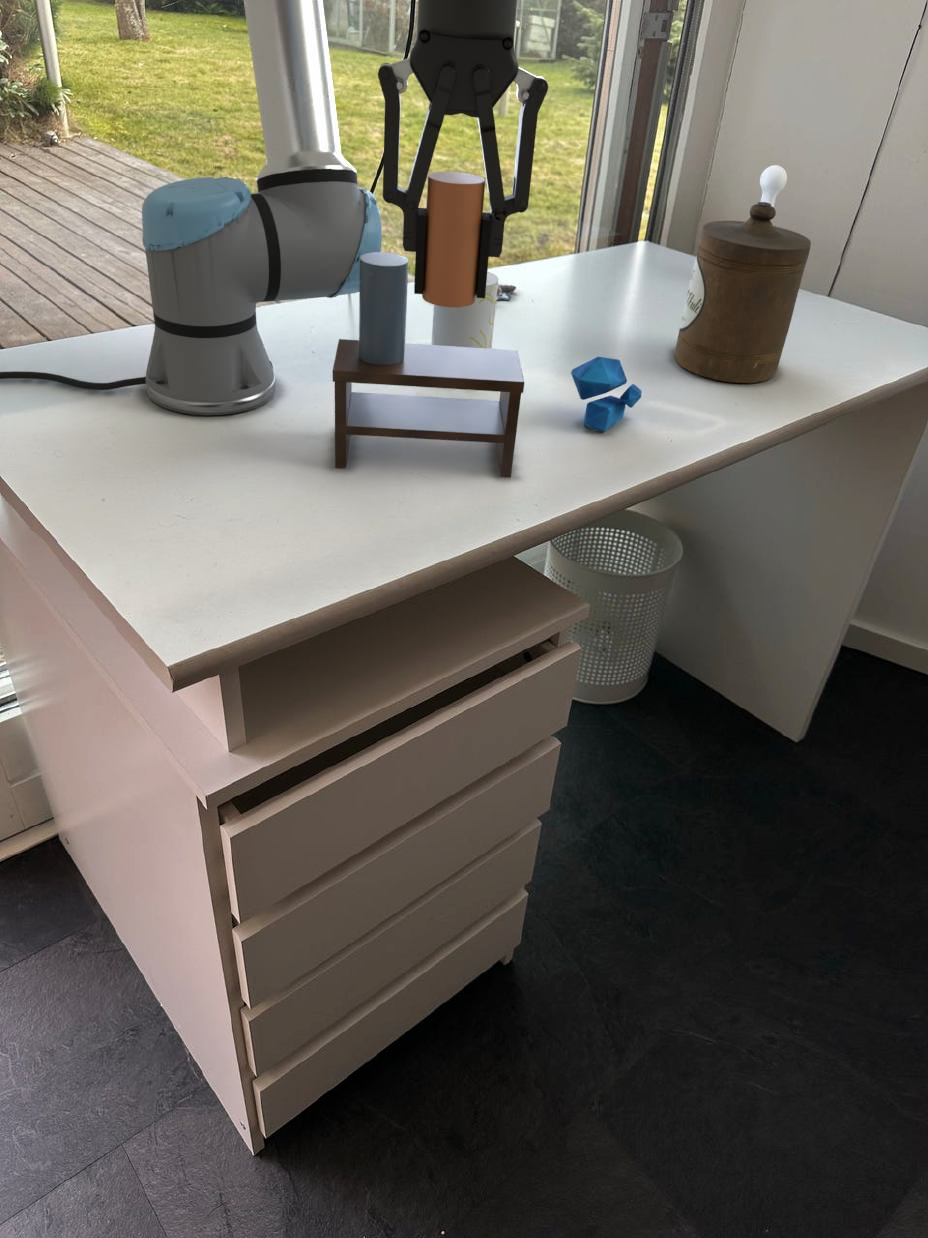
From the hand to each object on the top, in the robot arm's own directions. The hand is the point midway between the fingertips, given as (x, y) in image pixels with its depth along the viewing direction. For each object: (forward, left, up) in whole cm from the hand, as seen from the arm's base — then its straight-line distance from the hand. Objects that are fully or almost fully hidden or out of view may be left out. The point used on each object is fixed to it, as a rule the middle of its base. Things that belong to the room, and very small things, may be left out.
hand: (449, 290), depth 82 cm
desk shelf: (-1, +11, -22) cm, 24 cm away
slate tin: (-6, +11, -11) cm, 17 cm away
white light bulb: (+57, +85, -22) cm, 105 cm away
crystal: (+21, +22, -22) cm, 37 cm away
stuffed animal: (+7, +69, -22) cm, 73 cm away
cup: (+4, +38, -22) cm, 44 cm away
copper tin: (0, 0, -1) cm, 1 cm away
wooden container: (+43, +45, -22) cm, 66 cm away
